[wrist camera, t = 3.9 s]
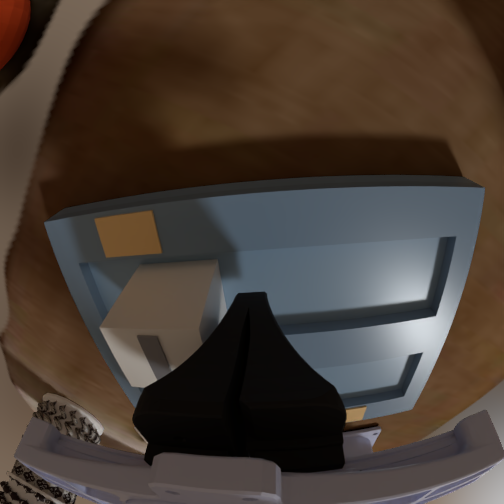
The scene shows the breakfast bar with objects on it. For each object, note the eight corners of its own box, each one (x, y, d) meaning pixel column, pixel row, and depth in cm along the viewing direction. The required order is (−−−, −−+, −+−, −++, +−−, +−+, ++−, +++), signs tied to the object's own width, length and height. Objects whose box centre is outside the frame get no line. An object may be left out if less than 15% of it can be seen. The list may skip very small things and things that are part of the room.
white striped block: (228, 318, 15) (217, 393, 11) (158, 320, 16) (130, 387, 11) (217, 259, 14) (198, 331, 9) (140, 264, 14) (98, 329, 10)
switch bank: (405, 391, 21) (412, 410, 19) (151, 405, 22) (145, 424, 20) (463, 176, 12) (486, 188, 10) (64, 208, 14) (42, 223, 12)
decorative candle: (65, 388, 23) (-5, 580, 1) (121, 436, 27) (79, 607, 5) (29, 391, 25) (-34, 542, 3) (78, 433, 29) (34, 575, 7)
